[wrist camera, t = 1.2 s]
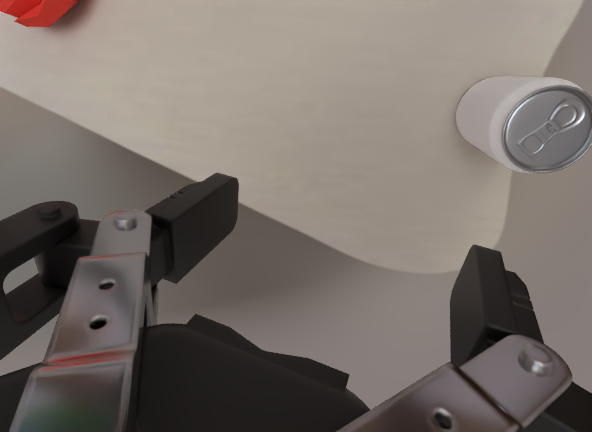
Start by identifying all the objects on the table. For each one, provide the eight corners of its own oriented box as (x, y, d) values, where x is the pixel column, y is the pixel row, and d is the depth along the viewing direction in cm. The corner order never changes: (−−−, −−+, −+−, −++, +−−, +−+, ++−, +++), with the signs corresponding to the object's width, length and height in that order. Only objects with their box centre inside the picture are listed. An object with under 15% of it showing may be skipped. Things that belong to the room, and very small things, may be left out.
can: (544, 108, 33) (632, 126, 22) (486, 159, 36) (539, 198, 25) (495, 60, 33) (562, 53, 22) (439, 116, 35) (473, 135, 24)
